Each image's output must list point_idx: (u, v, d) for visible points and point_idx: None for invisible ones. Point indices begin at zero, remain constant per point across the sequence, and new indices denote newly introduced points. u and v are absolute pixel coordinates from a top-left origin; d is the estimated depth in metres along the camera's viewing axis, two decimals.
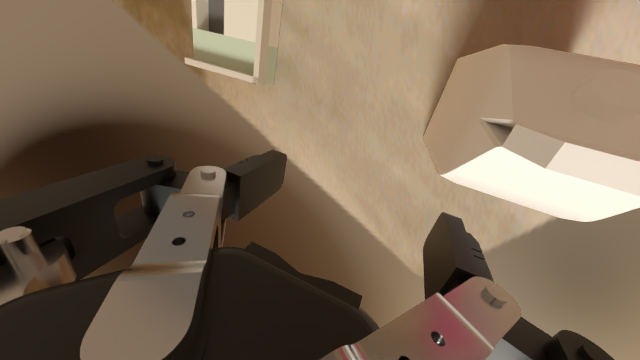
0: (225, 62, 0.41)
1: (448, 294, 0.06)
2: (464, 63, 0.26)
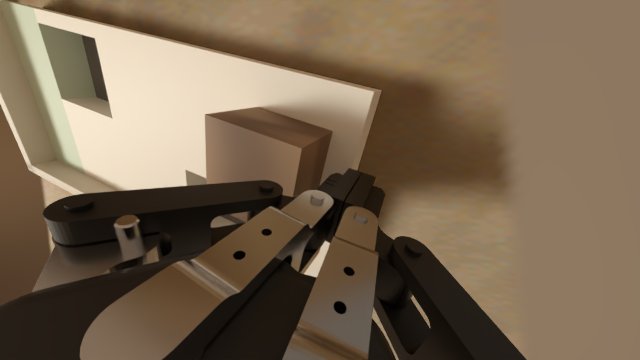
0: (35, 91, 0.22)
1: (337, 232, 0.07)
2: None
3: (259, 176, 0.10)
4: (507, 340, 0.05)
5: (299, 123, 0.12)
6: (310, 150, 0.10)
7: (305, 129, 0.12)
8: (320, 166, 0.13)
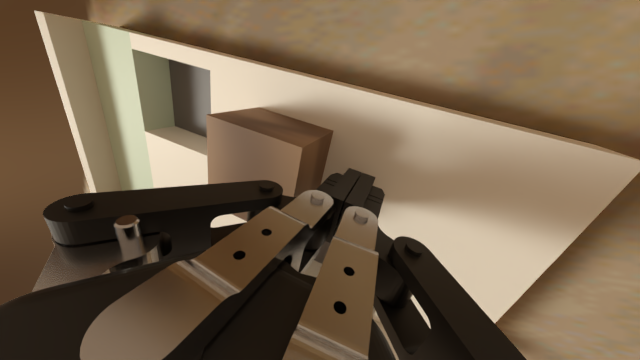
0: (110, 121, 0.20)
1: (337, 232, 0.07)
2: None
3: (260, 176, 0.11)
4: (507, 340, 0.05)
5: (300, 123, 0.12)
6: (311, 149, 0.10)
7: (306, 129, 0.12)
8: (321, 166, 0.13)
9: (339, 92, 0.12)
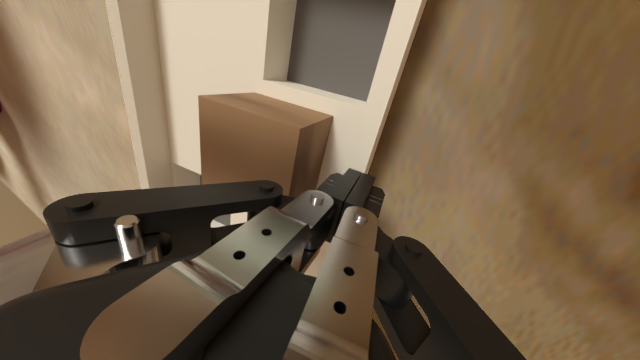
0: None
1: (337, 232, 0.07)
2: None
3: None
4: (507, 340, 0.05)
5: (316, 173, 0.13)
6: None
7: (308, 189, 0.13)
8: None
9: None
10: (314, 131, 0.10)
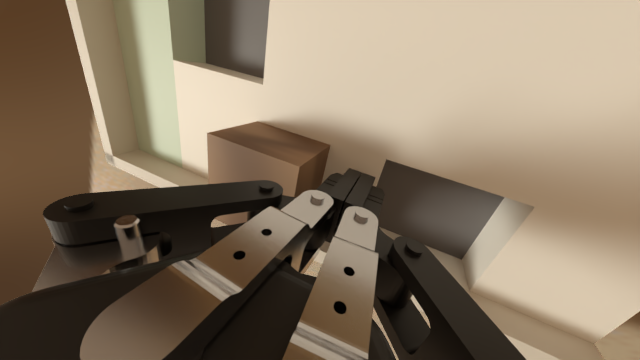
0: (129, 53, 0.16)
1: (337, 232, 0.07)
2: None
3: None
4: (507, 340, 0.05)
5: (298, 138, 0.13)
6: (308, 166, 0.11)
7: (304, 145, 0.12)
8: (318, 179, 0.13)
9: None
10: (237, 129, 0.12)
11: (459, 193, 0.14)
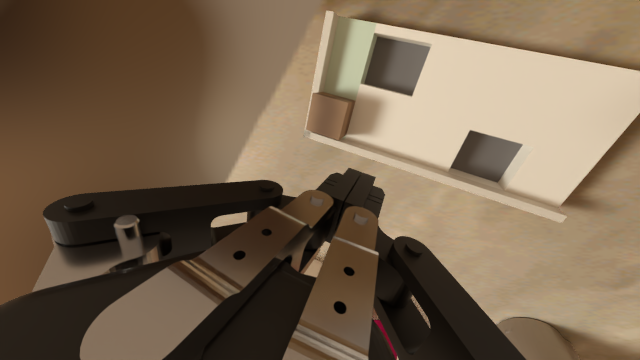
0: (331, 79, 0.32)
1: (337, 232, 0.07)
2: None
3: (331, 114, 0.30)
4: (507, 340, 0.05)
5: (342, 97, 0.32)
6: (349, 105, 0.29)
7: (346, 99, 0.31)
8: (350, 115, 0.32)
9: (517, 52, 0.24)
10: (320, 93, 0.31)
11: (498, 148, 0.30)
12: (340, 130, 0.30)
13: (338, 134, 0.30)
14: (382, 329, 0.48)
